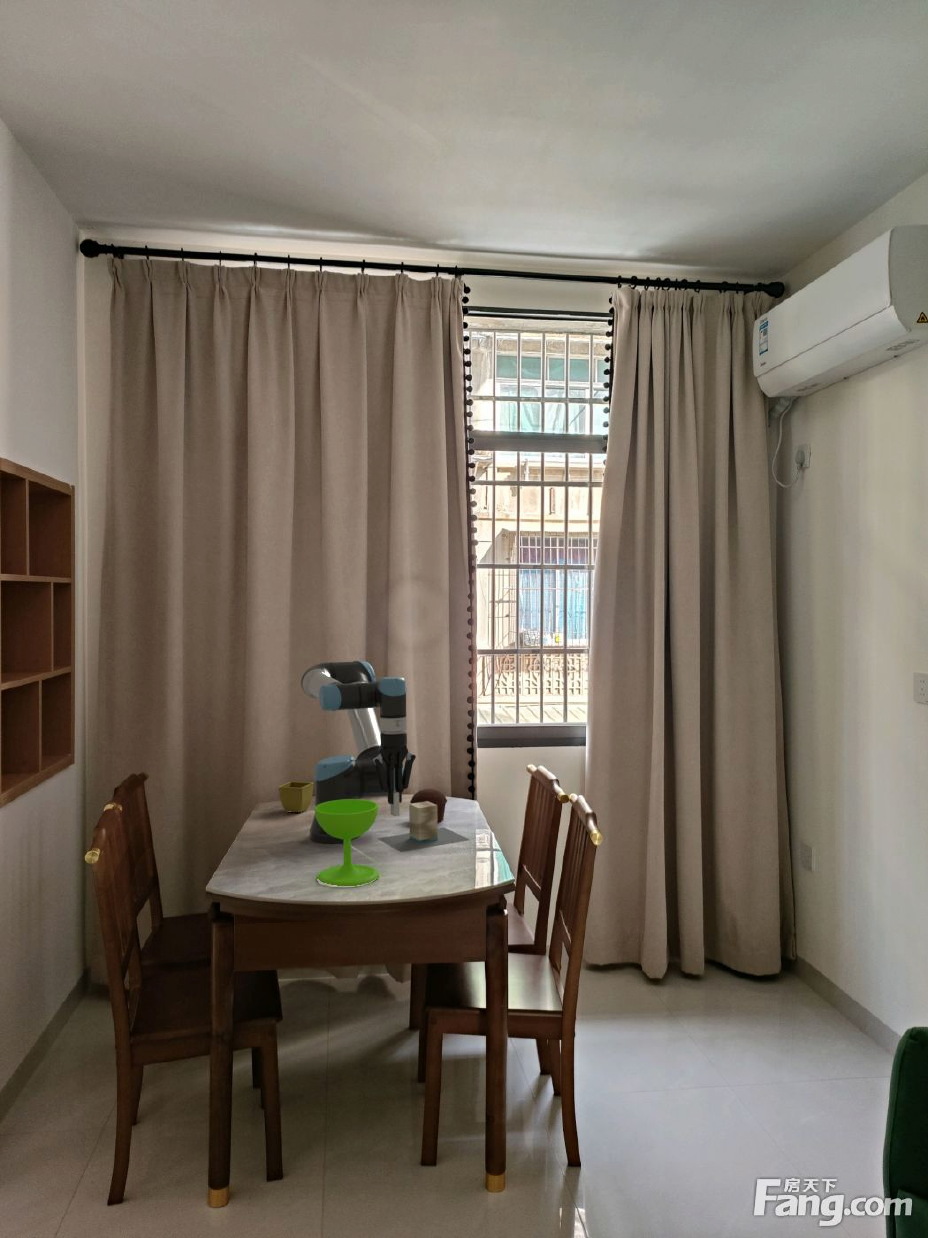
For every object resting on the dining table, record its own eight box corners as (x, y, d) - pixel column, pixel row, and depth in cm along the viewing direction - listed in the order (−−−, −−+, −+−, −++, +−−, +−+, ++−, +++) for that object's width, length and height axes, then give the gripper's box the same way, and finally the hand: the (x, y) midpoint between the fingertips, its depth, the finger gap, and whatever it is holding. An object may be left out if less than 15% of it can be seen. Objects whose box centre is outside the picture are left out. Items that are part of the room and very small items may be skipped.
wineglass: (303, 878, 217) (301, 807, 217) (354, 863, 228) (352, 796, 228) (341, 893, 206) (339, 818, 205) (392, 877, 217) (391, 806, 216)
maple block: (419, 843, 245) (418, 808, 244) (409, 838, 250) (409, 804, 250) (437, 840, 248) (437, 805, 247) (428, 835, 253) (427, 801, 253)
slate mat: (401, 853, 236) (401, 852, 236) (377, 840, 250) (377, 838, 250) (470, 841, 247) (470, 839, 247) (444, 829, 261) (444, 827, 261)
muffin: (405, 825, 266) (405, 793, 266) (416, 816, 277) (415, 785, 276) (442, 827, 263) (442, 795, 263) (451, 818, 274) (451, 787, 274)
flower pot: (278, 814, 283) (277, 786, 283) (291, 807, 291) (290, 781, 291) (302, 815, 280) (301, 788, 280) (314, 809, 289) (314, 782, 289)
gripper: (377, 735, 237) (379, 821, 237) (420, 731, 243) (421, 814, 244) (366, 732, 244) (368, 815, 244) (408, 728, 250) (410, 809, 250)
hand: (395, 814), depth 244 cm, fingers closed
